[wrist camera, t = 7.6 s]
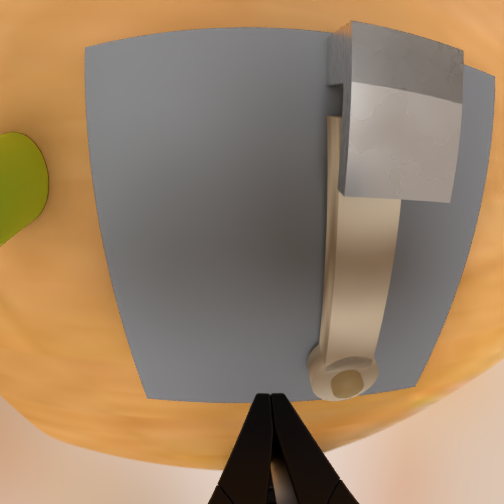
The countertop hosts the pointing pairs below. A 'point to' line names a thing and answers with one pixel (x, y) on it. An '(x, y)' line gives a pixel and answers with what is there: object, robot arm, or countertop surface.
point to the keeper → (396, 112)
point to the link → (352, 284)
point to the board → (252, 212)
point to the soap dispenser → (20, 183)
